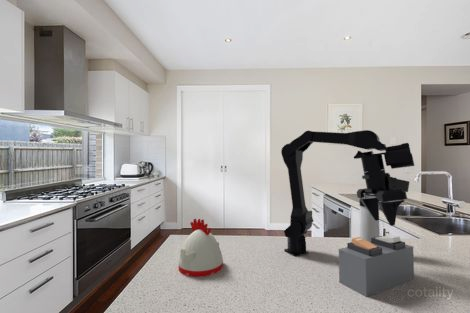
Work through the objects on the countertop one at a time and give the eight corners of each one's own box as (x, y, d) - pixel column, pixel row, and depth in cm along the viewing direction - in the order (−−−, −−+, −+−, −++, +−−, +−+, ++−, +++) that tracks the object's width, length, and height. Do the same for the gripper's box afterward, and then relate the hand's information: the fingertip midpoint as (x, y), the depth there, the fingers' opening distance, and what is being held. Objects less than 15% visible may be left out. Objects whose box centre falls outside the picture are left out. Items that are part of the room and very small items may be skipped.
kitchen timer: (200, 255, 87) (200, 213, 88) (231, 264, 79) (231, 217, 80) (169, 269, 76) (169, 220, 76) (201, 281, 68) (201, 227, 68)
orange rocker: (351, 242, 67) (352, 238, 67) (359, 240, 69) (360, 236, 68) (368, 253, 63) (369, 248, 63) (376, 251, 64) (377, 246, 64)
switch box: (339, 282, 67) (338, 243, 67) (385, 268, 75) (384, 234, 76) (366, 296, 60) (365, 253, 60) (414, 279, 68) (413, 241, 69)
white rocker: (376, 242, 71) (375, 237, 72) (383, 240, 73) (382, 236, 73) (393, 242, 67) (392, 238, 67) (400, 241, 68) (399, 236, 69)
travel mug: (383, 255, 85) (382, 198, 86) (363, 254, 87) (362, 197, 87) (377, 249, 91) (376, 195, 92) (358, 248, 93) (357, 195, 93)
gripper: (421, 165, 65) (434, 225, 63) (385, 169, 84) (395, 215, 82) (378, 171, 66) (389, 230, 64) (352, 173, 85) (361, 219, 83)
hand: (384, 222), depth 73 cm, fingers open, 9 cm apart
